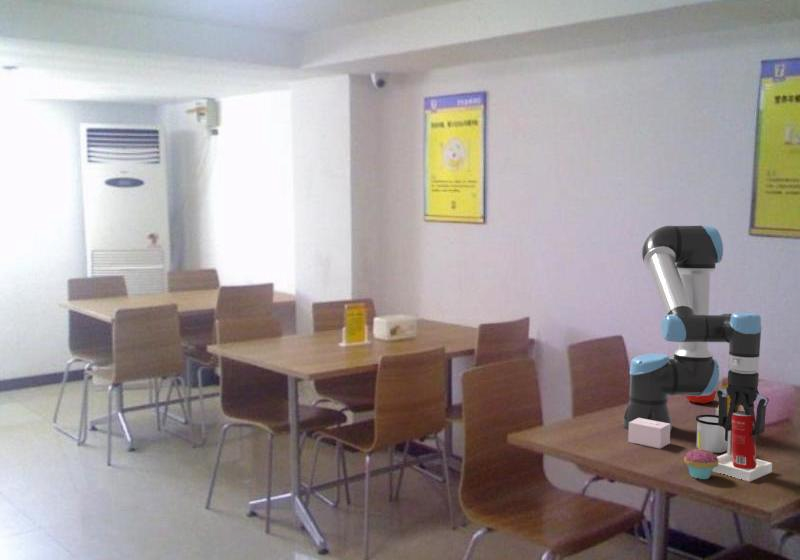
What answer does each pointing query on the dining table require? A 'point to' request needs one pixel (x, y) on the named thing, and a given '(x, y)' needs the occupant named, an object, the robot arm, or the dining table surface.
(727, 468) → the tray
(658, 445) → the tissue box
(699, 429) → the mug
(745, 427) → the beverage can
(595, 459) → the dining table surface
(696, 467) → the cupcake
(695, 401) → the tomato
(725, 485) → the dining table surface
